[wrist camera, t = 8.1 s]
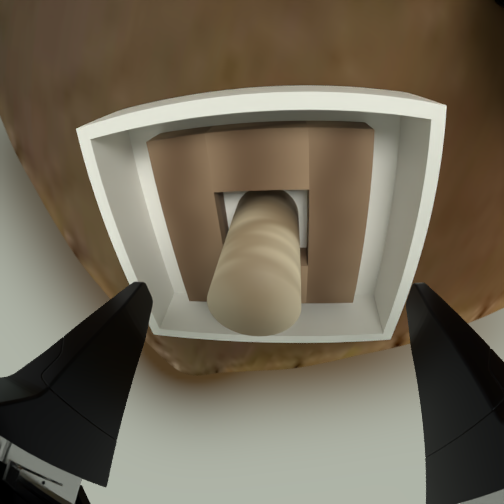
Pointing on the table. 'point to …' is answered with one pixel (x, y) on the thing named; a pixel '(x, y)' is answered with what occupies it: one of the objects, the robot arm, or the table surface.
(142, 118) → the open box
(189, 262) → the bore plate
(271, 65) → the table surface
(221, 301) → the peg
